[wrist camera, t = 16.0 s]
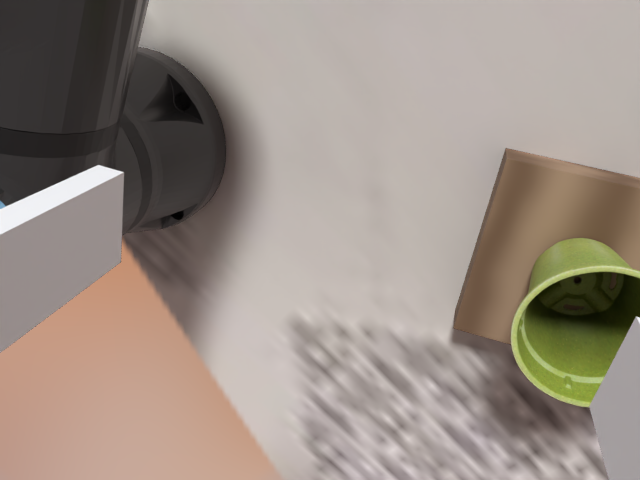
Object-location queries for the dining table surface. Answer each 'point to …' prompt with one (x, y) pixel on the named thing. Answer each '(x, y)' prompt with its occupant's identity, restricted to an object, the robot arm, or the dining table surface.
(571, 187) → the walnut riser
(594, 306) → the plant pot
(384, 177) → the dining table surface
